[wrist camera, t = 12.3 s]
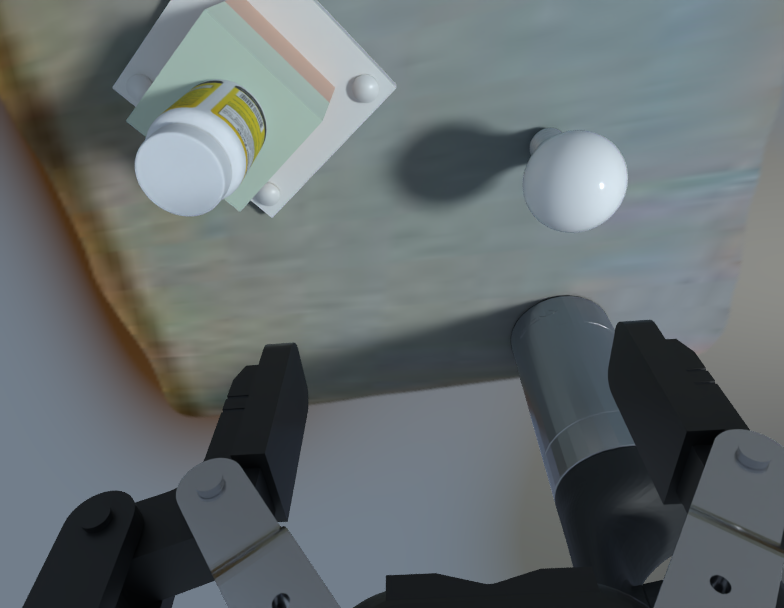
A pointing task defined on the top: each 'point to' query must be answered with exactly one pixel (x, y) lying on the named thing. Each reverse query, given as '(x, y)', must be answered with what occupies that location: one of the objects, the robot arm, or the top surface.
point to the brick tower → (262, 81)
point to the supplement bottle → (201, 147)
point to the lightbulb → (573, 179)
